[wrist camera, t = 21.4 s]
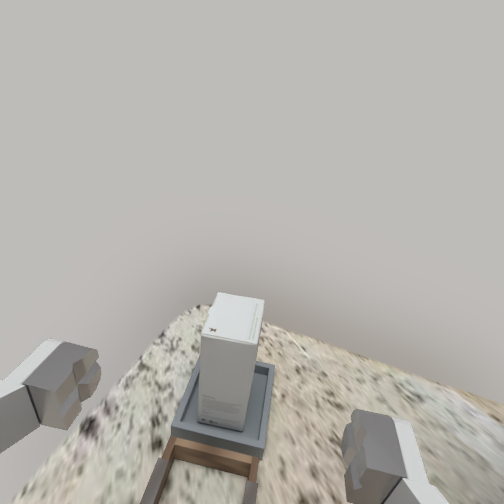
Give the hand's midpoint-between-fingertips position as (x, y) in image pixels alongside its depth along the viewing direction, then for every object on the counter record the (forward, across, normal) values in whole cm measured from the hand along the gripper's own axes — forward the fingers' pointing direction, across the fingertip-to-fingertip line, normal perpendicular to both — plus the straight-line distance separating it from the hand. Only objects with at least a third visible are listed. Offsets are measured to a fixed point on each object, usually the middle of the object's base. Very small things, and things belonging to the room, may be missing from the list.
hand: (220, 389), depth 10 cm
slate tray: (+21, +2, +32) cm, 38 cm away
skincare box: (+21, +2, +31) cm, 38 cm away
